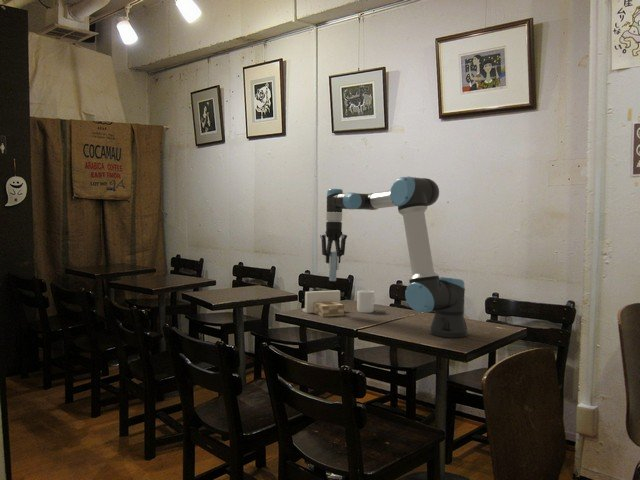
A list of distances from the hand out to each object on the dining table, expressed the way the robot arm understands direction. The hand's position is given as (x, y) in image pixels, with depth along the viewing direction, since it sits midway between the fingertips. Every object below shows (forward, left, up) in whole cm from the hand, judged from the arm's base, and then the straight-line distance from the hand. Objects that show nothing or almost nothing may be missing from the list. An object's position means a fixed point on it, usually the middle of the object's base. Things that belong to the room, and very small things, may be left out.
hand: (332, 269), depth 255 cm
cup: (+2, -21, -22) cm, 30 cm away
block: (+1, +1, -21) cm, 22 cm away
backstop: (+9, +1, -21) cm, 23 cm away
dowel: (0, 0, -5) cm, 5 cm away
